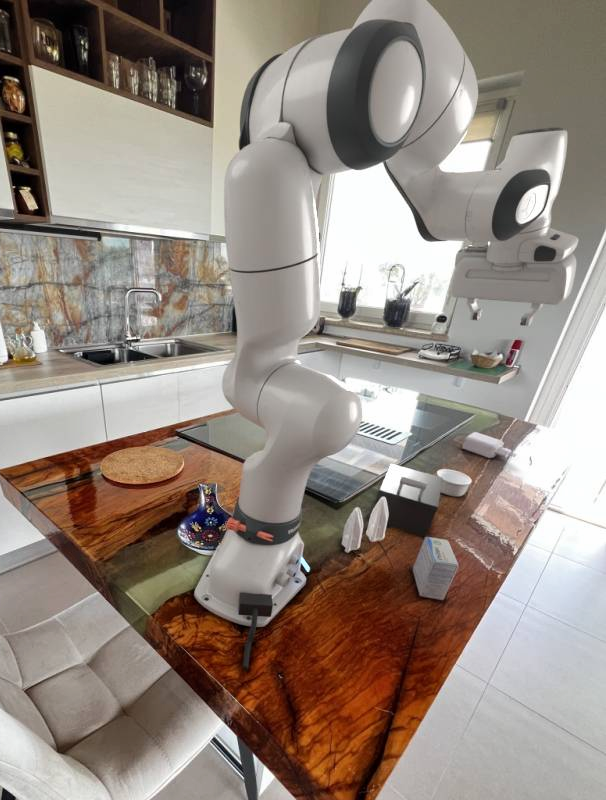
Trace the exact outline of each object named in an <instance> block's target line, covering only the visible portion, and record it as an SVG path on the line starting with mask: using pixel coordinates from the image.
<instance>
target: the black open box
mask: <svg viewBox="0 0 606 800" xmlns="http://www.w3.org/2000/svg"><path fill="white" fill-rule="evenodd" d="M381 497H385V498H386V501H387V506H388V513H389V516H388V521H387V526H389V527H392V528H395V529H398V530H401V531H404V532H407V533H411V534H414V535H417V536H419V537H422V538H425V537H427V534H428V532H429V530H430V527H431V525H432V523H433V520H434V517H435V515H436V513H437V510H435V509H431V508H428V507H424V506H421V505H418V504H414V503H411V502H408V501H404V500H401V499H397V498H394V497H391V496H387V495H384V494H381V493H379V492H378V493H377V497H376V500H375V502H374V506H373V508H374V507H375V505H376V504H377V502H378V501H379V500H380V498H381Z"/></svg>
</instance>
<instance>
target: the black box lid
mask: <svg viewBox="0 0 606 800" xmlns="http://www.w3.org/2000/svg"><path fill="white" fill-rule="evenodd" d="M441 485H442V477H438V476H437V475H434V474H431V473H426V472H423V471H420V470H416V469H412V468H408V467H404V466H401V465H397V464H393V463H390V464H389V467H388V469H387V471H386V474H385V476H384V478H383V479H382V483H381V484H380V487H379V490H378V493H381V494H384V495H387V496H391V497H394V498H397V499H401V500H404V501H408V502H411V503H414V504H418V505H421V506H424V507H428V508H431V509H435V510H436V511H438V509H439V506H440V505H439V504H440V498H441Z"/></svg>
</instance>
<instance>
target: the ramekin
mask: <svg viewBox="0 0 606 800" xmlns="http://www.w3.org/2000/svg"><path fill="white" fill-rule="evenodd" d="M436 476H438V477H442V485H441V492H440V494H442V495H443V494H444V495H446V496H450V497H463V496H464V495H465V494H466V492H467V490H468V488H469V486H470V485H471V484H472V482H473V480H472V478H471V476H469V475H467V474H465V473H463V472H461V471H458V470H454V469H448V468H441V469H438V470H437V471H436Z"/></svg>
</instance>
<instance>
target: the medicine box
mask: <svg viewBox="0 0 606 800" xmlns="http://www.w3.org/2000/svg"><path fill="white" fill-rule="evenodd" d="M459 566H460V565H459V562H458V560H457V558H456V556H455V554H454V550H453V548H452V546H451V544H450V541H449V540H447V539H443V538H437V537H430V536H426V537H424V539H423V542H422V544H421V546H420V549H419V551H418V554H417V557H416V559H415V562H414V564H413V567H412V573H413V576H414V580H415V583H416V587H417V590H418V594H419V597H423V598H428V599H432V600H439V601H444V599H445V597H446V595H447V593H448V591H449V589H450V587H451V584H452V582H453V580H454V578H455V575H456V573H457V571H458V569H459Z"/></svg>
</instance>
